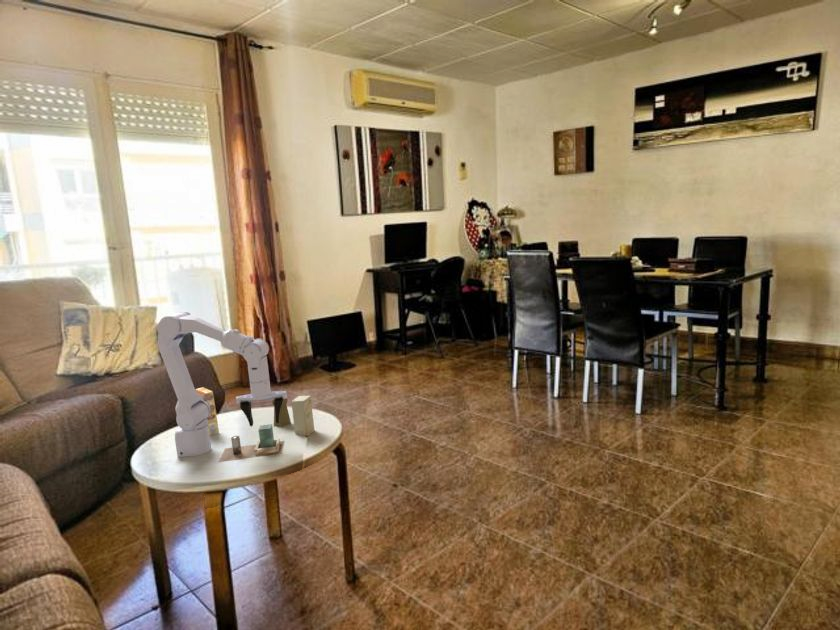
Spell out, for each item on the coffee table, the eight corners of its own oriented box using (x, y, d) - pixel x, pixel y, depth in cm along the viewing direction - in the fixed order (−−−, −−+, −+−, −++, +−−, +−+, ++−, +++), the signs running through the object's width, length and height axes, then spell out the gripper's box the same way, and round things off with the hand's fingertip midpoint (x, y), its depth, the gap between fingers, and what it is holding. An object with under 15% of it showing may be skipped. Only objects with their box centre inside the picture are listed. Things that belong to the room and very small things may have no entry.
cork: (286, 421, 191) (282, 391, 190) (294, 425, 187) (291, 394, 185) (270, 426, 187) (266, 396, 186) (278, 430, 183) (275, 399, 181)
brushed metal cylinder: (232, 455, 162) (230, 439, 162) (233, 451, 165) (231, 436, 164) (240, 453, 163) (238, 438, 162) (242, 450, 165) (240, 435, 164)
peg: (261, 451, 163) (258, 429, 162) (262, 447, 167) (259, 425, 166) (273, 450, 164) (270, 428, 163) (274, 445, 167) (272, 424, 166)
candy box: (219, 434, 183) (213, 390, 181) (207, 438, 181) (201, 394, 178) (209, 428, 190) (203, 386, 187) (197, 432, 187) (191, 389, 185)
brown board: (219, 464, 158) (217, 456, 158) (225, 451, 168) (224, 443, 168) (282, 456, 161) (281, 448, 161) (284, 443, 171) (283, 436, 170)
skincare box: (307, 437, 175) (303, 401, 173) (294, 437, 176) (290, 401, 174) (314, 430, 181) (311, 395, 179) (302, 430, 182) (298, 395, 180)
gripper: (285, 374, 167) (290, 416, 169) (236, 379, 164) (242, 422, 167) (283, 380, 160) (288, 424, 162) (232, 385, 158) (238, 430, 160)
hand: (264, 423), depth 164 cm, fingers open, 7 cm apart
